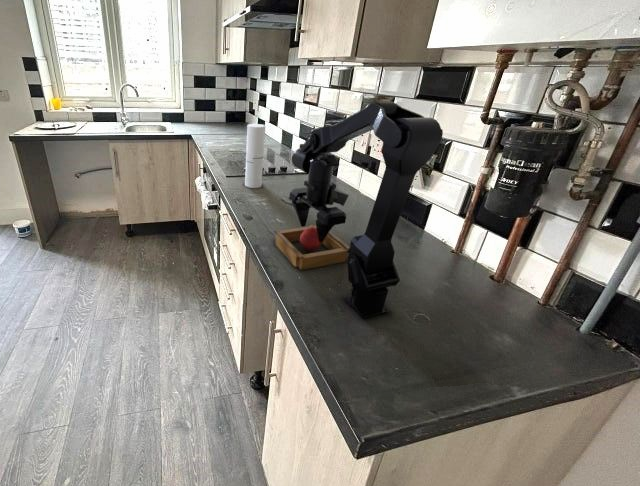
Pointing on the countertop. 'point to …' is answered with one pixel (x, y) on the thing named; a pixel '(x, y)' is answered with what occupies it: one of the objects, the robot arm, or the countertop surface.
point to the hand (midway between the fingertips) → (311, 233)
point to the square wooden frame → (311, 260)
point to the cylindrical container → (254, 155)
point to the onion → (310, 239)
